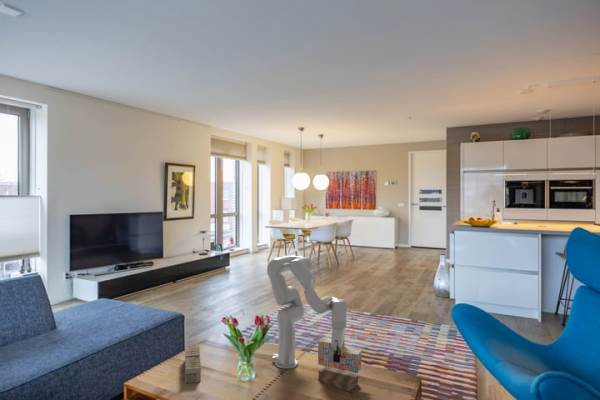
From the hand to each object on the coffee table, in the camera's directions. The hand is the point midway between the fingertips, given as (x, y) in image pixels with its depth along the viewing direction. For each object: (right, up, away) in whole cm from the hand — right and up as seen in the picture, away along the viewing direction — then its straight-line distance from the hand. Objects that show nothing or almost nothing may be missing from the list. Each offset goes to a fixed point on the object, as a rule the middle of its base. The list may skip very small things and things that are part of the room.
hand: (338, 358), depth 184 cm
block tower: (-77, -11, +10) cm, 79 cm away
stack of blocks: (0, -4, 0) cm, 4 cm away
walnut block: (0, -12, 0) cm, 12 cm away
